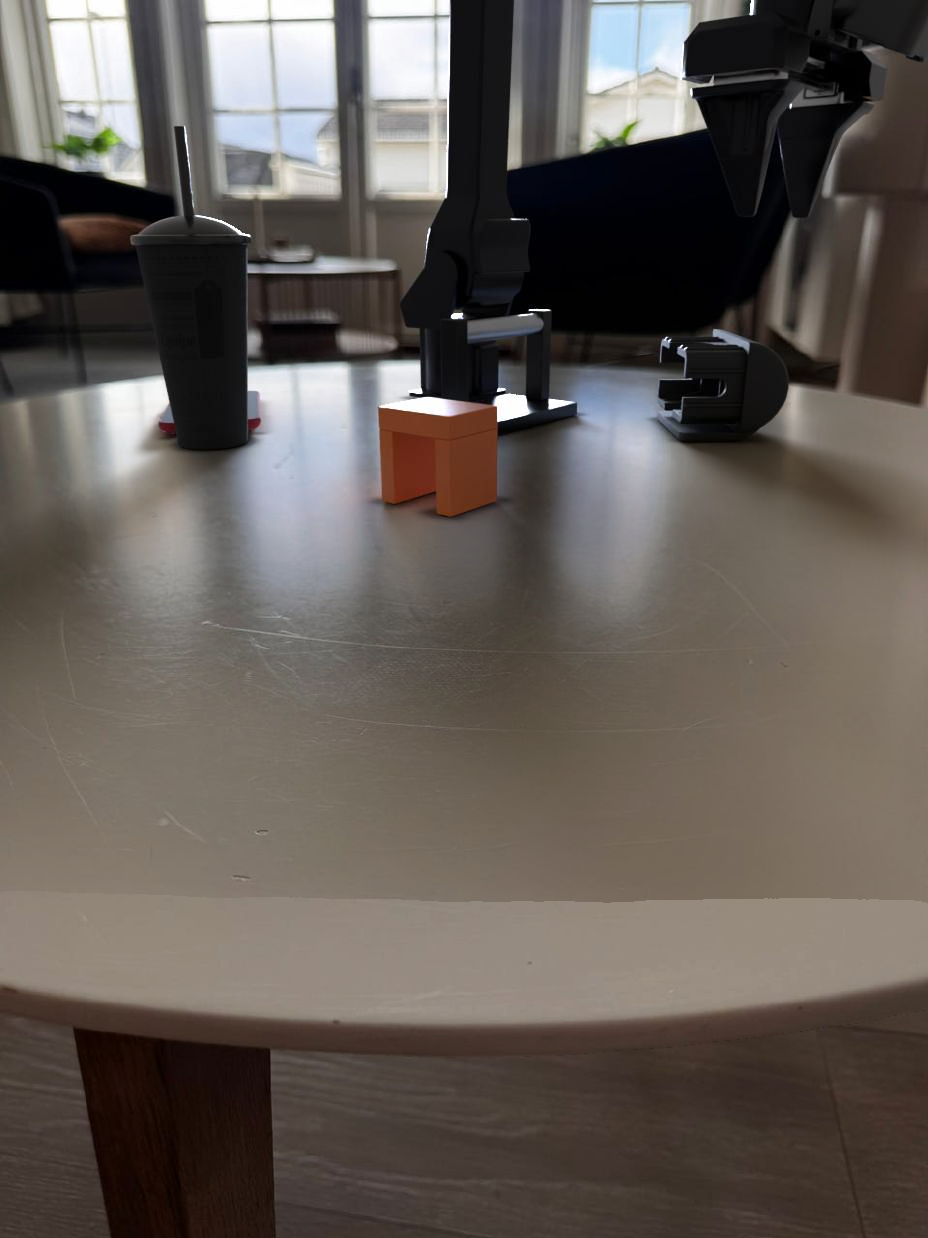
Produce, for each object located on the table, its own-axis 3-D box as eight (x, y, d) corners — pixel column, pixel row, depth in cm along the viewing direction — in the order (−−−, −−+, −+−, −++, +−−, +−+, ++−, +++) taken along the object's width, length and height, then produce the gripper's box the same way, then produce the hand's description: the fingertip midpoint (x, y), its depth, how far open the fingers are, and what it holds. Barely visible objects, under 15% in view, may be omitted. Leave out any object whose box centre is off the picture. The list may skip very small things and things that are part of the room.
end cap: (782, 442, 64) (795, 342, 62) (681, 443, 64) (689, 342, 62) (743, 416, 74) (753, 328, 71) (654, 417, 74) (660, 328, 71)
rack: (414, 427, 71) (411, 317, 68) (508, 405, 79) (509, 307, 76) (486, 438, 67) (486, 322, 64) (577, 414, 75) (581, 311, 72)
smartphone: (259, 390, 82) (260, 418, 68) (260, 400, 82) (261, 431, 69) (173, 393, 81) (157, 423, 67) (174, 403, 81) (158, 435, 67)
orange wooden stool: (381, 501, 51) (377, 406, 49) (429, 487, 54) (427, 396, 52) (450, 517, 48) (449, 416, 46) (497, 501, 51) (498, 405, 49)
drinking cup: (287, 435, 68) (263, 129, 60) (231, 457, 61) (196, 116, 54) (198, 429, 70) (164, 134, 63) (135, 450, 64) (88, 122, 56)
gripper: (904, -147, 44) (852, 213, 50) (991, -59, 57) (942, 216, 63) (688, -97, 50) (666, 216, 56) (812, -29, 64) (783, 218, 70)
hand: (775, 216), depth 61 cm, fingers open, 9 cm apart
